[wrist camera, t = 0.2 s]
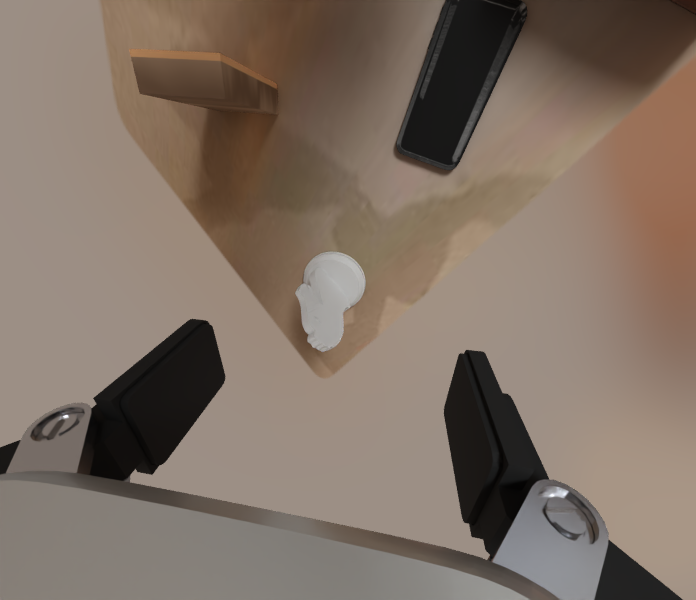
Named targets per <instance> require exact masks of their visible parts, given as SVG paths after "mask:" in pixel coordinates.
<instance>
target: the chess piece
mask: <svg viewBox="0 0 696 600" xmlns="http://www.w3.org/2000/svg"><path fill="white" fill-rule="evenodd" d="M303 281H304V284H301V285H300V286H299V287H298V288H297V290H296V292H295V294H296V296H297V297H298V299H299V302H300V305H301V316H302V325H303V328H304V330H305V331H306V333H307V334H308V338H307V340H308V343H310V344H311V345H312V347H313V348H316V349H317V350H320V351H322V352H324V351H328V350H330V349H332V348H334V347H335V346H336V345H337V344H339V341H341V338H342V335H343V332H344V330H343V328H344V326H343V324H344V323H343V321H344V320H343V312H344V311H346V310H347V309H349V308H350V307H352V306H353V305H355V304H356V303H357V302H358V301H359V300H360V299H361V297H362V295H363V293H364V290H365V276H364V273H363V270H362V268H361V267H360V265H359V264H358V263H357V262H356V261H355V260H354V259H353V258H351V257H350V256H348V255H346V254H343V253H340V252H324V253H321V254H319V255H317V256H315V257H314V258H313V259H312V260H311V261H310V262H309V263H308V265H307V266H306V268H305V271H304V278H303Z"/></svg>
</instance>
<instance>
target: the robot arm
mask: <svg viewBox="0 0 696 600" xmlns="http://www.w3.org/2000/svg"><path fill="white" fill-rule="evenodd" d="M224 381H225V373H224V369H223V365H222V362H221V357H220V354H219V350H218V346H217V342H216V338H215V334H214V330H213V327H212V326H211V325H210V324H209V323H208V321H204V320H196V319H190V320H189V321H187V322H186V323H185V324H184V325H182V326H181V327H180V328H179V329H177V330H176V331H175V332H174V333H173V334H172V335H170V336H169V337H168V338H166V339H165V340H164V341H163V342H162V343H160V344H159V345H158V346H157V347H155V348H154V349H153V350H152V351H151V352H149V353H148V354H147V355H146V356H144V357H143V358H142V359H141V360H140V361H138V362H137V363H136V364H135V365H133V366H132V367H131V368H130V369H129V370H127V371H126V372H125V373H124V374H122V375H121V376H120V377H119V378H118V379H116V380H115V381H114V382H113V383H111V384H110V385H109V386H108V387H107V388H105V389H104V390H103V391H102V392H100V393H99V394H98V395H97V396H96V397H94V398H93V399H94V400H95V402H96V405H95V406H94V407H93V408H91V407H90V406H89V405H88V404H85V403H73V404H68V405H65V406H62V407H59V408H56V409H54V410H52V411H50V412H48V413H46V414H45V415H43V416H42V417H40V418H39V419H37V420H36V421H35V422H34V423H33V424H32V425H31V426H30V427H29V428H28V429H27V430H26V432H25V433H24V435H23V437H22V439H21V440H19V441H16V442H14V443H11V444H8V445H6V446H3V447H0V600H682V599H681V598H680V597H679V596H678V595H676V594H675V593H674V592H673V591H671V590H670V589H669V588H668V587H666V586H665V585H664V584H663V583H662V582H660V581H659V580H658V579H656V578H655V577H654V576H653V575H652V574H650V573H649V572H648V571H647V570H645V569H644V568H643V567H642V566H640V565H639V564H638V563H637V562H636V561H634V560H633V559H632V558H630V557H629V556H628V555H627V554H626V553H624V552H623V551H622V550H621V549H619V548H618V547H617V546H616V545H615V544H613V543H612V542H611V541H610V540H608V531H607V528H606V525H605V522H604V521H603V519H602V517H601V516H600V514H599V513H598V511H597V510H596V509H595V507H594V506H593V505H592V504H591V503H590V502H589V501H588V500H587V499H586V498H585V497H584V496H583V495H581V494H580V493H579V492H578V491H576V490H575V489H573V488H571V487H569V486H568V485H566V484H564V483H561V482H558V481H556V480H549V478H548V476H547V473H546V471H545V469H544V467H543V465H542V462H541V460H540V458H539V456H538V454H537V452H536V450H535V447H534V445H533V443H532V441H531V439H530V437H529V434H528V432H527V430H526V428H525V426H524V423H523V421H522V419H521V417H520V415H519V413H518V411H517V408H516V406H515V404H514V402H513V400H512V398H511V396H509V395H508V394H504V393H502V391H501V389H500V387H499V384H498V382H497V380H496V377H495V375H494V373H493V370H492V368H491V366H490V363H489V361H488V359H487V356H486V354H485V353H484V352H481V351H472V350H466V351H465V353H464V354H459V356H458V360H457V363H456V367H455V370H454V374H453V377H452V381H451V385H450V388H449V392H448V396H447V400H446V403H445V407H444V417H445V423H446V429H447V435H448V440H449V445H450V451H451V457H452V463H453V469H454V474H455V480H456V486H457V491H458V497H459V502H460V509H461V514H462V519H463V521H464V522H465V523H469V525H470V531H471V536H472V537H475V538H480V539H483V540H484V545H485V549H486V551H487V552H488V553H489V554H490V556H489V558H488V560H485V559H483V558H480V557H477V556H474V555H470V554H467V553H463V552H459V551H456V550H452V549H449V548H445V547H441V546H436V545H432V544H428V543H423V542H418V541H414V540H410V539H406V538H401V537H396V536H392V535H387V534H383V533H378V532H374V531H369V530H364V529H359V528H354V527H349V526H345V525H339V524H334V523H330V522H325V521H320V520H316V519H311V518H306V517H301V516H296V515H291V514H286V513H281V512H276V511H271V510H267V509H262V508H257V507H251V506H246V505H242V504H236V503H232V502H227V501H222V500H217V499H212V498H207V497H202V496H197V495H191V494H186V493H181V492H176V491H170V490H166V489H161V488H155V487H150V486H145V485H140V484H135V483H130V475H131V473H132V472H133V471H134V470H135V469H136V470H137V472H141V473H146V474H151V475H152V474H153V473H154V472H155V470H156V469H157V468H158V466H159V465H162V464H163V463H165V462H166V460H167V459H168V458H169V457H170V455H171V454H172V452H173V451H174V450H175V448H176V447H177V446H178V444H179V443H180V442H181V440H182V439H183V437H184V436H185V435H186V434H187V432H188V431H189V430H190V428H191V427H192V426H193V424H194V423H195V422H196V420H197V418H199V416H200V415H201V413H202V412H203V411H204V409H205V408H206V407H207V405H208V404H209V403H210V401H211V400H212V398H213V397H214V396H215V395H216V393H217V392H218V390H219V389H220V388H221V387H222V385H223V384H224Z"/></svg>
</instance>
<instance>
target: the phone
mask: <svg viewBox="0 0 696 600" xmlns="http://www.w3.org/2000/svg"><path fill="white" fill-rule="evenodd" d="M440 15H441V16H440V19H439V22H437V25H436V28H435V31H434V34H433V35H434V36H433V38H432V39H431V42H430V45H429V48H428V49H429V51H428V54H427V57H426V59H425V62H424V65H423V68H422V71H421V74H420V77H419V80H418V82H417V85H416V88H415V91H414V94H413V97H412V100H411V103H410V105H409V108H408V111H407V114H406V117H405V120H404V123H403V126H402V128H401V131H400V134H399V137H398V140H397V149H398V151H399V152H400V153H401V154H403V155H406V156H409V157H411V158H414V159H417V160H420V161H423V162H425V163H428V164H431V165H434V166H436V167H439V168H442V169H445V170H452V169H454V168H455V167H456V166H457V165H458V164H459V162H460V160H461V158H462V155H463V153H464V151H465V149H466V147H467V145H468V143H469V140H470V138H471V136H472V134H473V132H474V130H475V128H476V125H477V123H478V121H479V119H480V117H481V115H482V113H483V110H484V108H485V106H486V104H487V102H488V100H489V98H490V95H491V93H492V91H493V89H494V87H495V85H496V83H497V80H498V78H499V76H500V74H501V72H502V70H503V68H504V65H505V63H506V61H507V59H508V57H509V55H510V52H511V50H512V48H513V46H514V44H515V42H516V40H517V37H518V35H519V33H520V31H521V29H522V27H523V25H524V22H525V20H526V17H527V7H526V5H525V3H524V2H522V1H521V0H446V2H445V5H444V7H443V8H442V11H441V14H440Z"/></svg>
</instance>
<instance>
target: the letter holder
mask: <svg viewBox="0 0 696 600" xmlns="http://www.w3.org/2000/svg"><path fill="white" fill-rule="evenodd" d="M671 1H673V2H675V3H676V4H678V5H680V6H682V7H683V8H686V9H687V10H689V11H691V12H693V13H695V14H696V0H671Z"/></svg>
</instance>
